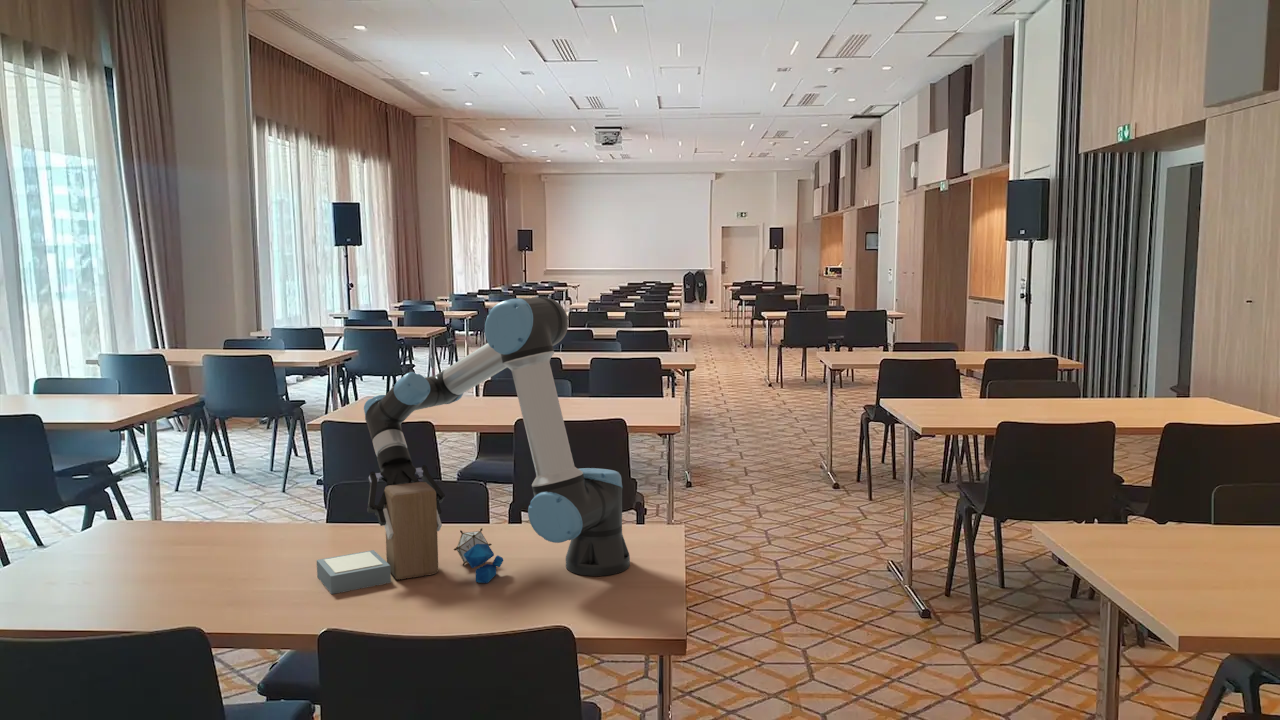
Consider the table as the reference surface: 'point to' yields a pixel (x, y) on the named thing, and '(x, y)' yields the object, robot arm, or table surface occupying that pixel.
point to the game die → (469, 542)
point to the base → (353, 571)
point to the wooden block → (412, 530)
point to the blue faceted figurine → (480, 556)
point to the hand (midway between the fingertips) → (415, 532)
